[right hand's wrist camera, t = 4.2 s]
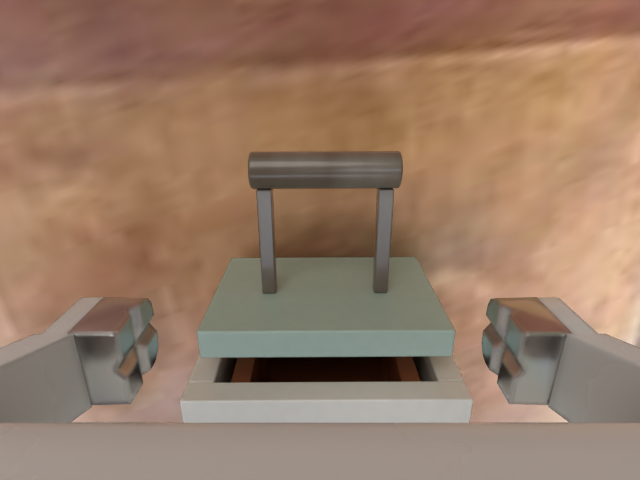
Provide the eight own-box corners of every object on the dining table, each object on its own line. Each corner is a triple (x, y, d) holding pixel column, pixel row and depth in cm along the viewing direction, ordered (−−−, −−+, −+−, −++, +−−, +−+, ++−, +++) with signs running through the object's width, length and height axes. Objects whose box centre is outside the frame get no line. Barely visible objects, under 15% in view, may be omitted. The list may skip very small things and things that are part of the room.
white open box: (227, 287, 23) (178, 401, 15) (419, 286, 23) (474, 399, 15) (248, 510, 30) (222, 673, 22) (398, 509, 30) (428, 671, 22)
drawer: (220, 138, 19) (174, 169, 13) (426, 137, 19) (478, 168, 13) (251, 487, 28) (232, 607, 21) (395, 486, 28) (418, 606, 22)
